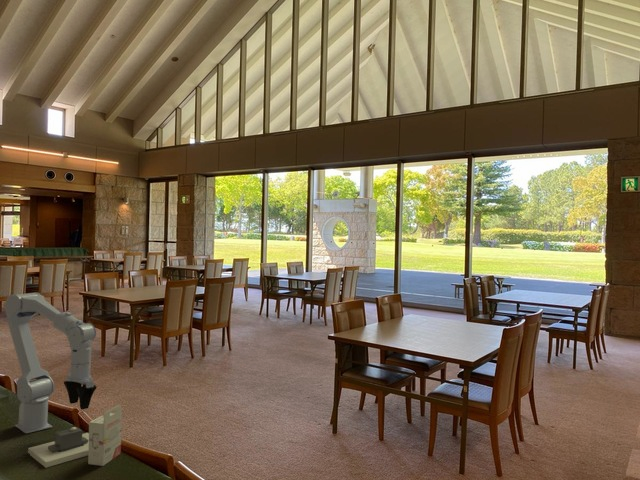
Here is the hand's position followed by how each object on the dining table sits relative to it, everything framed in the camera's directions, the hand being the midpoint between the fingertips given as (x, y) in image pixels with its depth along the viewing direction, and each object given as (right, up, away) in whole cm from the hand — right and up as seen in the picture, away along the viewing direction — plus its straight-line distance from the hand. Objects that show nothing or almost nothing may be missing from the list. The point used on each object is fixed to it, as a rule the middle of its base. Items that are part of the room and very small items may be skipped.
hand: (79, 405), depth 157 cm
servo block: (+3, -10, -12) cm, 15 cm away
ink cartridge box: (+15, -10, -16) cm, 24 cm away
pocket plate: (+3, -9, -12) cm, 15 cm away
